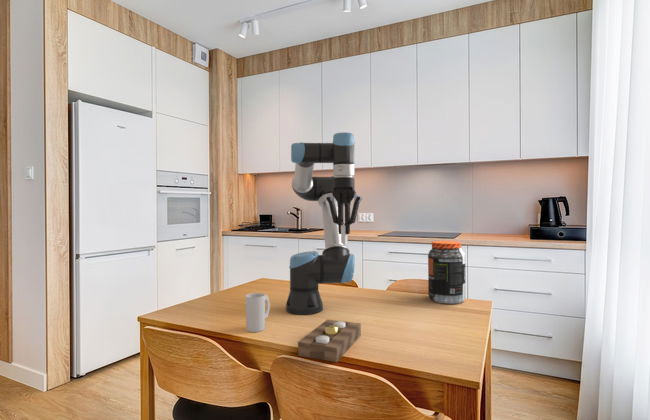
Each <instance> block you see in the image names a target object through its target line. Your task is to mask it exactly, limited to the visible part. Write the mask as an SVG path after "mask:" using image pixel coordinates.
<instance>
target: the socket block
mask: <svg viewBox="0 0 650 420" xmlns="http://www.w3.org/2000/svg"><path fill="white" fill-rule="evenodd" d="M337 321H338V320H335V319H329V318H328V319H326V320H325V321H324V322H321V324H319V325H318V326H317V327H315V328H313V330H311V331H310V332H309V333H307V334H306V335H305V336H304V337H303V338H301V339H300V340H299V341H297V355H298V356H299V357H305V358H310V359H316V360H322V361H328V362H333V363H338V362H339V361H340V359H341V358H342V357H343V356H344V355H345V354H346V353H347V351H348V350H350V349H351V347H352V346H353V345H354V344H355V343H356V342H357V341H358V340H359V338H361V336H362V334H361V333H362V329H361V328H362V325H361V323H360V322H359V323H358V322H351V321H349V322H348V321H344V320H343V321H342V320H341V321H342V322H345V323H346V327H345V328H338V334H337V335H336V336H335V335H328V334H325V326H326V325H333V323H334V322H337ZM321 335H324V336H328V337H329V342H328V343H327V344H324V343H318V342H316V337H317V336H321Z"/></svg>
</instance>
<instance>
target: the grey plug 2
mask: <svg viewBox="0 0 650 420" xmlns="http://www.w3.org/2000/svg"><path fill="white" fill-rule="evenodd" d="M336 321H337V322H334V323H333V325H337V326H338V328H345V327H346V323H345V322H346V321H344V322H342V320H336Z"/></svg>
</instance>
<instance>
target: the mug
mask: <svg viewBox="0 0 650 420" xmlns="http://www.w3.org/2000/svg"><path fill="white" fill-rule="evenodd" d="M270 307H271V305H270V299H269V295H268V294H265V293H263V292H252V293H248V294H245V317H246V318H245V320H246V321H245V322H246V331H247V332H250V333H260V332H263V331H265V329H266V328H265V327H266V319H267V318H268V317H269V314H270V309H271V308H270Z"/></svg>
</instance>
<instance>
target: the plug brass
mask: <svg viewBox="0 0 650 420" xmlns="http://www.w3.org/2000/svg"><path fill="white" fill-rule="evenodd" d="M325 334H328V335H335V336H336V335H337V334H338V326H337V325H326V326H325Z"/></svg>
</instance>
